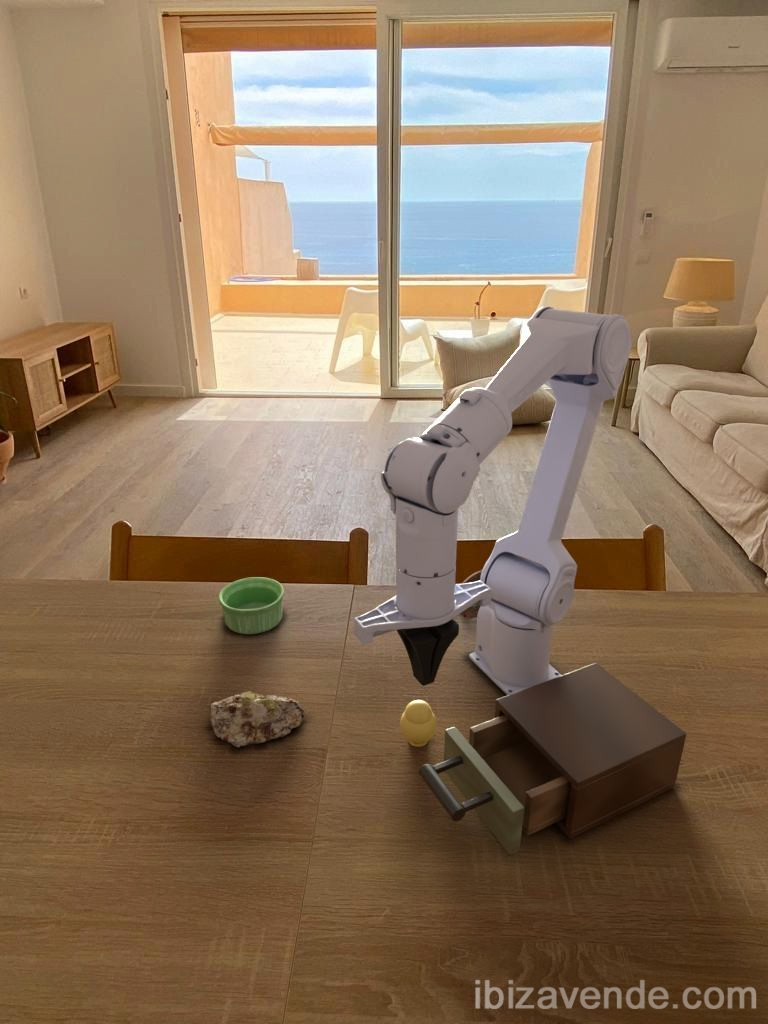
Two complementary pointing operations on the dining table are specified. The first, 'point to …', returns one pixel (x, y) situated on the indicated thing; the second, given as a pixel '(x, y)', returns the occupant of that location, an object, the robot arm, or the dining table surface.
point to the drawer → (500, 781)
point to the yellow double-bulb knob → (418, 723)
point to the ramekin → (252, 604)
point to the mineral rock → (254, 718)
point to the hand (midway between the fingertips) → (423, 678)
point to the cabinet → (598, 742)
